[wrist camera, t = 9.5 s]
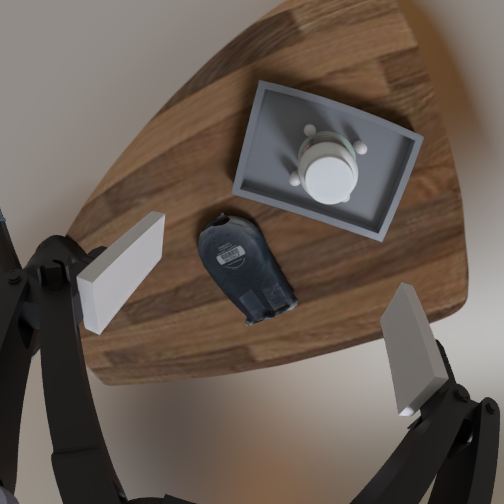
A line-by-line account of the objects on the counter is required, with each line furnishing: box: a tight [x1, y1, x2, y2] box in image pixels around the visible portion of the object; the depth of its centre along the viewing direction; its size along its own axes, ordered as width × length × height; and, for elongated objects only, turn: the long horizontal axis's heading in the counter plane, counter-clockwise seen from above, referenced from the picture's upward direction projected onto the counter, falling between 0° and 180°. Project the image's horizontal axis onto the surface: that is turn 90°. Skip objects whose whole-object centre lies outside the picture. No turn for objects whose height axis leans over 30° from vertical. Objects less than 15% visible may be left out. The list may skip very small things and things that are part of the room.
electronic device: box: [198, 213, 299, 326], centre depth 40 cm, size 9×6×15 cm
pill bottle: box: [298, 135, 358, 204], centre depth 27 cm, size 5×5×10 cm
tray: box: [232, 80, 424, 242], centre depth 31 cm, size 18×13×4 cm
